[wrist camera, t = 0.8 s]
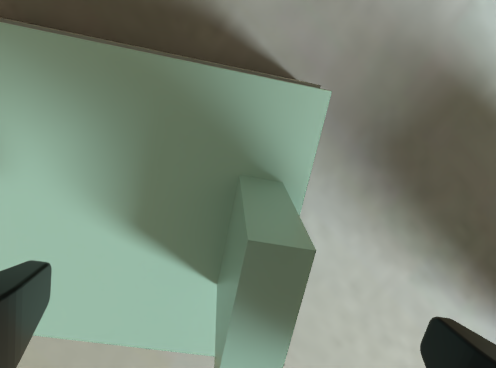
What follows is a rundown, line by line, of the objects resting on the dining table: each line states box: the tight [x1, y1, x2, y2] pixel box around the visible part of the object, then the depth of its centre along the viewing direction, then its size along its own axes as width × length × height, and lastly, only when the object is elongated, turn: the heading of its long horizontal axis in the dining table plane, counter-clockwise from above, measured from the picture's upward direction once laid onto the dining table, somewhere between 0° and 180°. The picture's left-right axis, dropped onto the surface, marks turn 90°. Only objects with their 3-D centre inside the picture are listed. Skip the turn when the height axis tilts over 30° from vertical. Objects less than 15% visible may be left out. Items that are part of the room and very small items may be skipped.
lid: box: [0, 22, 332, 368], centre depth 10 cm, size 10×12×5 cm
